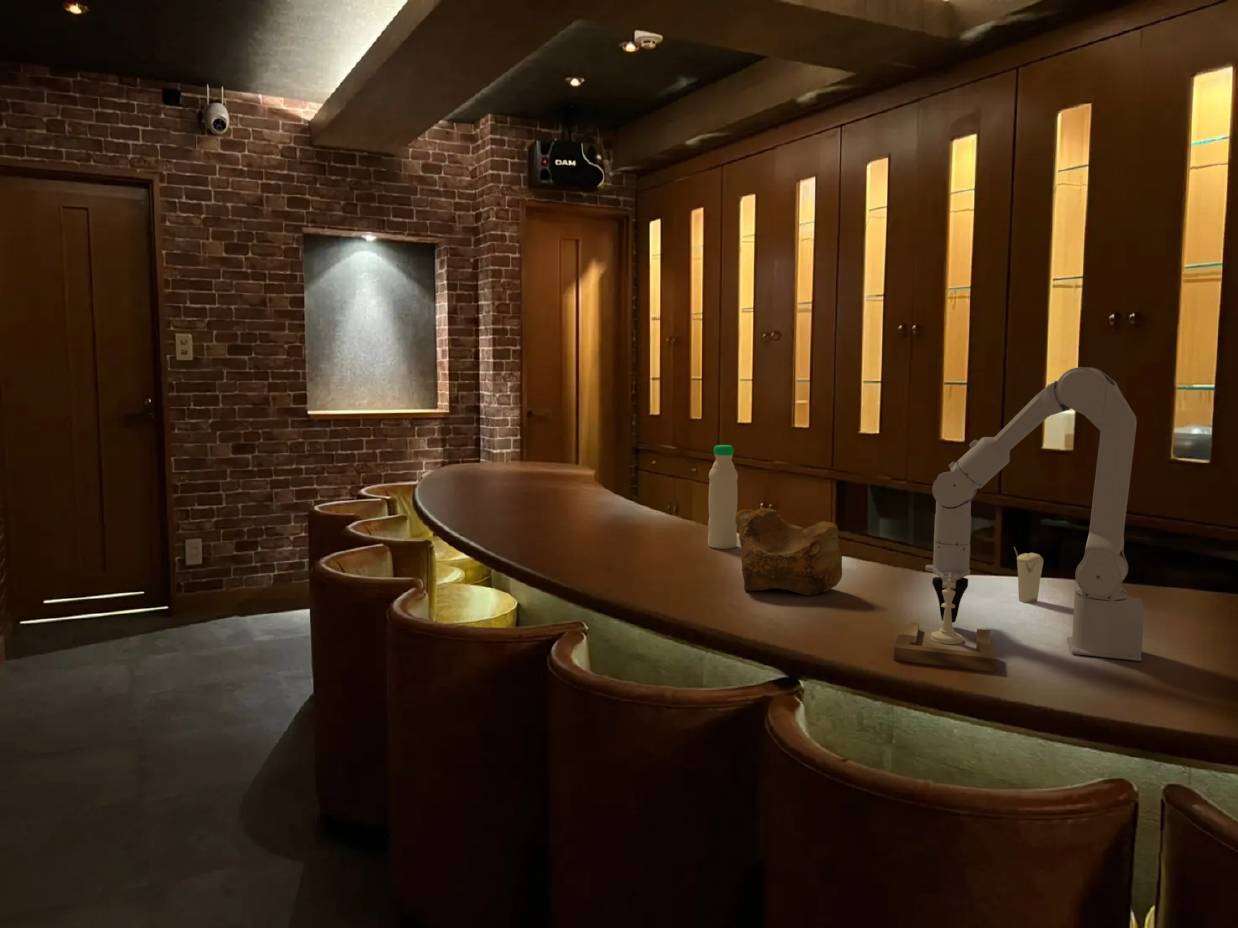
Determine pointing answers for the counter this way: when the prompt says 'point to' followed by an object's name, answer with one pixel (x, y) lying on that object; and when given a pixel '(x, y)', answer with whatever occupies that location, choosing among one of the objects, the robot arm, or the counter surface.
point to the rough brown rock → (787, 553)
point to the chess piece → (947, 619)
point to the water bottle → (722, 500)
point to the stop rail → (945, 655)
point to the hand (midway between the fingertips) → (948, 620)
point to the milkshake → (1029, 576)
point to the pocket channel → (913, 630)
